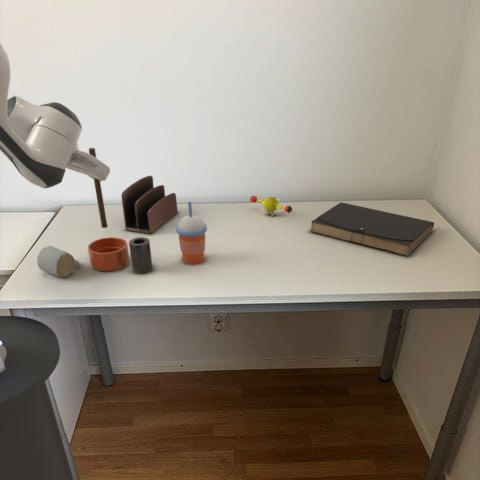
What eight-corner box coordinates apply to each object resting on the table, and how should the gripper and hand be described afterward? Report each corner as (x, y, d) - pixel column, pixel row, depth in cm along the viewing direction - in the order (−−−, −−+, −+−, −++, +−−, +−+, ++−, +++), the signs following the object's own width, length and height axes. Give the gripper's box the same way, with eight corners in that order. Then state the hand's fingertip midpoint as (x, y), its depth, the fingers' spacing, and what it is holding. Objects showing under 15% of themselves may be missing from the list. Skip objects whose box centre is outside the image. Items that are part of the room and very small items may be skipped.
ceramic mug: (60, 282, 144) (55, 257, 139) (39, 275, 147) (33, 251, 143) (87, 267, 151) (82, 243, 147) (66, 261, 155) (61, 237, 151)
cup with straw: (180, 267, 150) (175, 209, 140) (176, 254, 158) (172, 197, 148) (210, 264, 152) (208, 206, 142) (206, 251, 159) (203, 195, 149)
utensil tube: (145, 275, 146) (141, 246, 141) (129, 271, 148) (125, 243, 144) (156, 267, 151) (153, 239, 146) (140, 263, 153) (137, 235, 148)
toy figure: (295, 218, 180) (296, 200, 176) (286, 223, 177) (287, 204, 173) (256, 207, 190) (256, 189, 186) (246, 211, 186) (246, 193, 183)
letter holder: (125, 230, 173) (119, 190, 165) (154, 210, 189) (150, 172, 181) (151, 234, 170) (146, 193, 162) (178, 213, 186) (175, 174, 178)
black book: (310, 220, 168) (343, 200, 185) (309, 232, 170) (341, 211, 187) (409, 244, 152) (435, 219, 168) (406, 257, 154) (432, 231, 171)
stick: (105, 228, 146) (92, 149, 133) (100, 227, 146) (87, 149, 134) (108, 226, 147) (96, 148, 135) (103, 225, 147) (91, 147, 135)
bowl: (113, 275, 147) (110, 256, 143) (83, 267, 151) (79, 249, 148) (137, 259, 155) (134, 241, 152) (107, 252, 159) (104, 234, 156)
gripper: (90, 144, 122) (128, 175, 134) (43, 131, 133) (81, 160, 145) (78, 168, 122) (117, 196, 133) (31, 152, 133) (71, 179, 144)
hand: (98, 177), depth 139 cm, fingers closed on stick, 1 cm apart
